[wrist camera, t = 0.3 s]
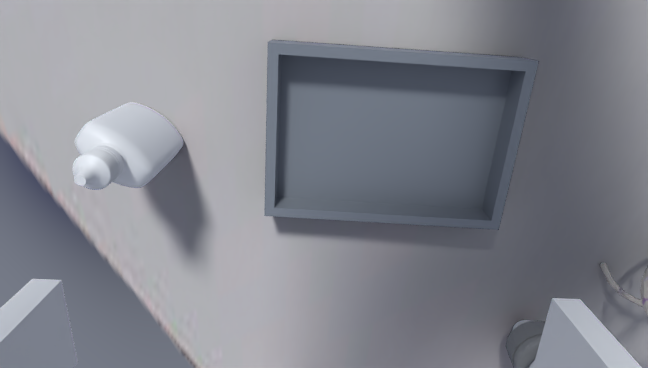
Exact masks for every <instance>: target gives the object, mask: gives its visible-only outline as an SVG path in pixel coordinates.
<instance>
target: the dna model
mask: <svg viewBox="0 0 648 368" xmlns="http://www.w3.org/2000/svg"><path fill="white" fill-rule="evenodd" d="M600 266H601V268H602V270H603V273H604V275H605V277H606V279H607V281H608V283H609V284H610V285H611V286H612V287H613V288H614V289H615V290H616V291H617V292H618V293H619V294H620V295H621V296H622V297H624V298H626V299H628V300H630V301H631V302H633V303H635V304H637V305H639V306H642V307H644V309H645V311H646V314H647V316H648V267H647V269H646V271H645V273H644V275H643V277H642V280H641V290H640V291H641V298H642V300H640V299H637V298H634V297H633V296H631V295H630V294H628V293H626V292H625V291H624V290H623V289H622V288H621V287H619V286H618V284H617V283H616V282H615V281H614V280H613V278H612V276H611V274H610V271H609V269H608V267H607V264H605V263H601V265H600Z"/></svg>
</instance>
